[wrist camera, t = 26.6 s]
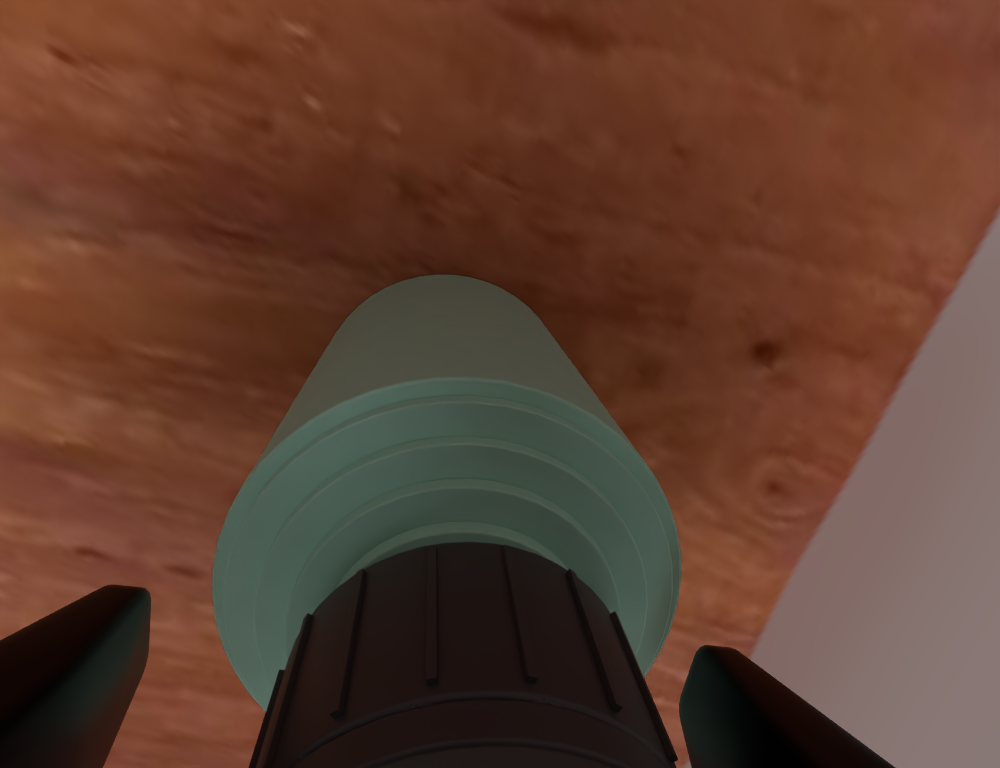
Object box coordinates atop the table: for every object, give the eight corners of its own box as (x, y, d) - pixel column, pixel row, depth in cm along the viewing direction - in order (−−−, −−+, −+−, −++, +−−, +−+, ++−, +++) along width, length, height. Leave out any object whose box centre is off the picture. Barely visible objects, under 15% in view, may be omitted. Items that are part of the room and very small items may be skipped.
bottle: (433, 547, 18) (436, 1153, 7) (265, 386, 16) (-109, 862, 5) (612, 405, 17) (941, 831, 6) (456, 219, 15) (521, 339, 4)
